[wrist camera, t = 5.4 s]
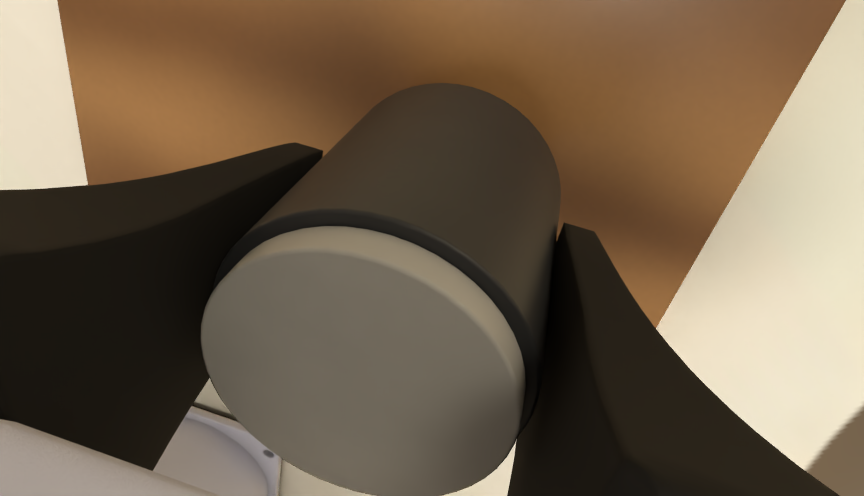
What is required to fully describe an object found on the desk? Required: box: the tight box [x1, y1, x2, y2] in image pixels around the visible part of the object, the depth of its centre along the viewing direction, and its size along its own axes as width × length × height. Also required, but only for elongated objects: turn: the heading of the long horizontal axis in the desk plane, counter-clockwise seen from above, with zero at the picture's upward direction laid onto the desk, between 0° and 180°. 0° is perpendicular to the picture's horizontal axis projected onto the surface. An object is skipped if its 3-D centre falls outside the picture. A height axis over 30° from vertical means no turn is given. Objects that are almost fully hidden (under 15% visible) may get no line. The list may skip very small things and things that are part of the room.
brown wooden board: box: [57, 0, 846, 328], centre depth 16 cm, size 12×20×1 cm, turn 78°
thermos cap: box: [200, 83, 561, 496], centre depth 10 cm, size 5×5×6 cm
